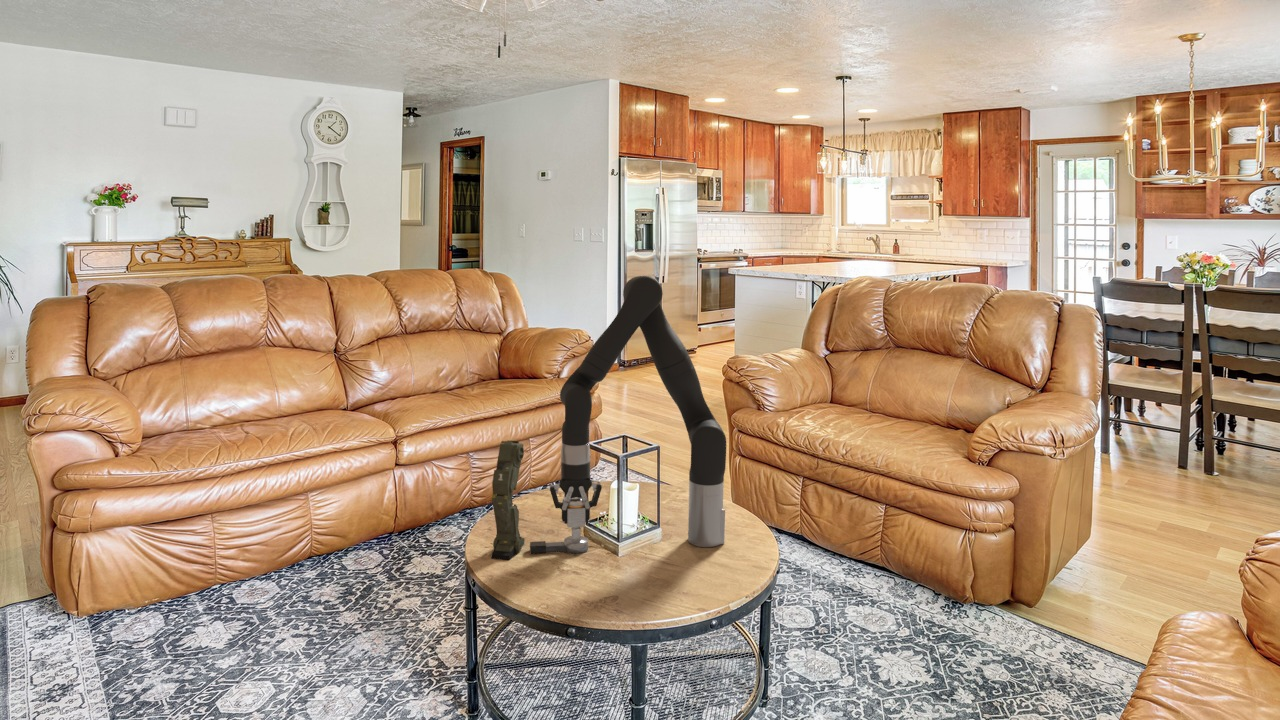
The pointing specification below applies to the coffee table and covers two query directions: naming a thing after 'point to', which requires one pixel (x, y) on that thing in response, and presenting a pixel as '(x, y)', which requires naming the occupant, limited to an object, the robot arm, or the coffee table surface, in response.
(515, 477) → the mechanical leg
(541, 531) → the coffee table surface
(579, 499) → the socket
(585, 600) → the coffee table surface
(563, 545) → the ratchet
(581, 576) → the coffee table surface
